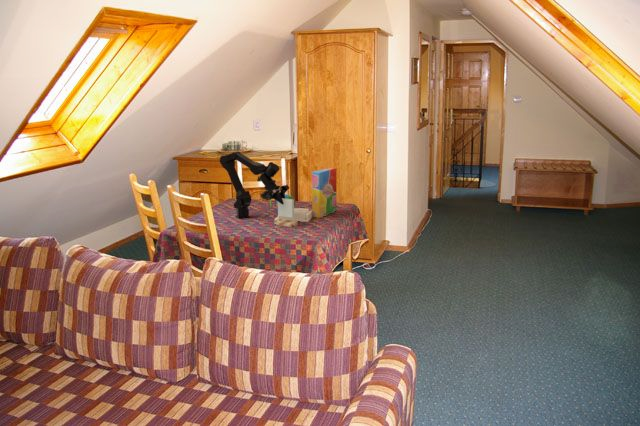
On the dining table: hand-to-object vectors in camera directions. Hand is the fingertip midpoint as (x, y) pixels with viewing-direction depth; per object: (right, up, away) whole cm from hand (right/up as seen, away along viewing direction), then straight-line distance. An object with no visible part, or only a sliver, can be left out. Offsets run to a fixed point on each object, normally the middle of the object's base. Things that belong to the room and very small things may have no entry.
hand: (284, 203), depth 321 cm
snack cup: (-3, -5, +34) cm, 34 cm away
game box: (+23, -6, +26) cm, 35 cm away
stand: (+1, -12, +2) cm, 12 cm away
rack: (+5, -9, +16) cm, 18 cm away
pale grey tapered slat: (+1, -2, 0) cm, 3 cm away
